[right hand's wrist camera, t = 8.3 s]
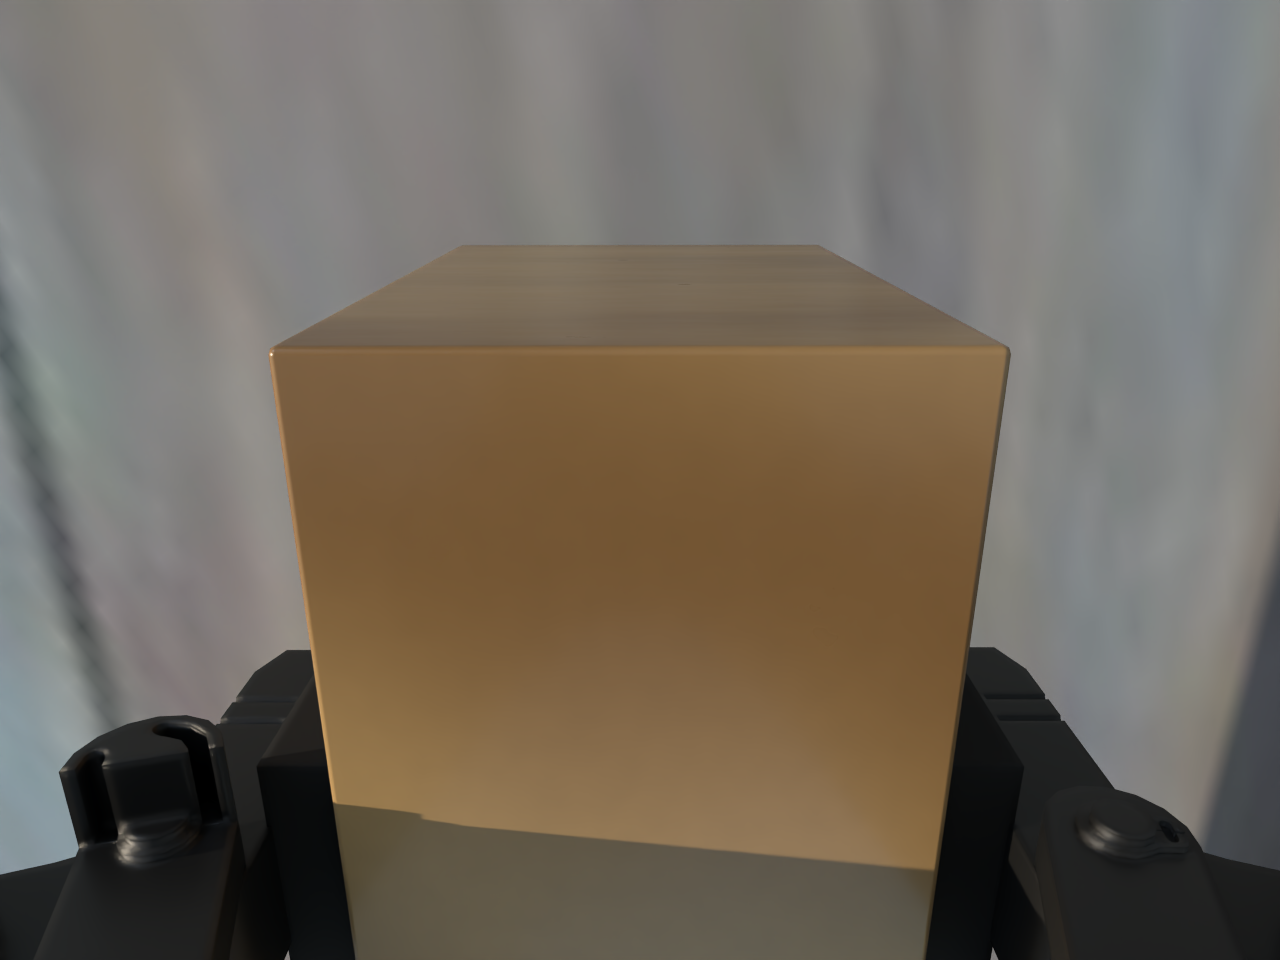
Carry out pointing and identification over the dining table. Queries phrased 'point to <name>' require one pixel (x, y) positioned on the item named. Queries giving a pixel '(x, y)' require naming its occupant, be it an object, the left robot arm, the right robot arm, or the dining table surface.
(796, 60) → the dining table surface
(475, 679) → the bar
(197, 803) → the right robot arm
